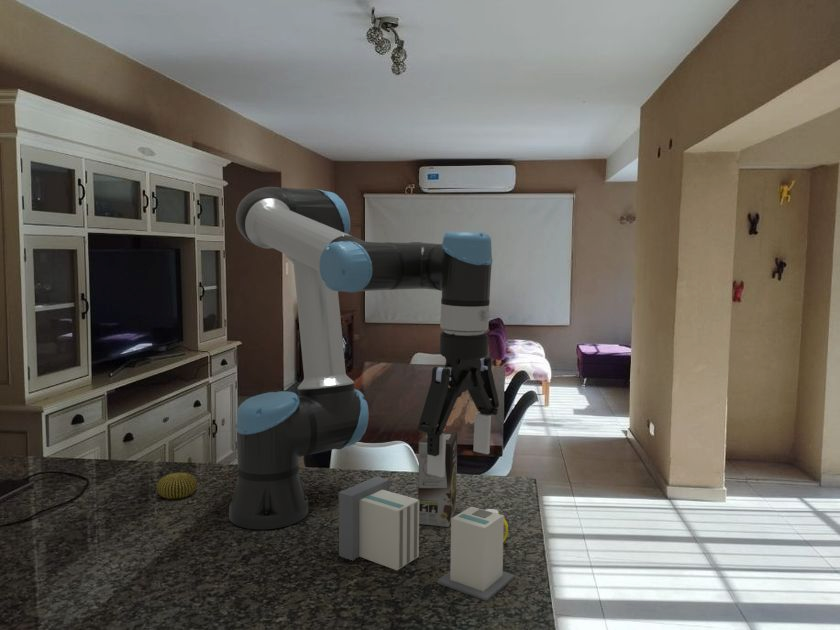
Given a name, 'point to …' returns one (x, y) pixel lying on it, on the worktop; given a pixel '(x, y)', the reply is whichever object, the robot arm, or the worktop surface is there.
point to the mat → (475, 592)
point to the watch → (504, 523)
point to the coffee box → (438, 485)
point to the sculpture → (176, 485)
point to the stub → (476, 548)
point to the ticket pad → (378, 524)
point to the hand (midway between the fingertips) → (459, 463)
